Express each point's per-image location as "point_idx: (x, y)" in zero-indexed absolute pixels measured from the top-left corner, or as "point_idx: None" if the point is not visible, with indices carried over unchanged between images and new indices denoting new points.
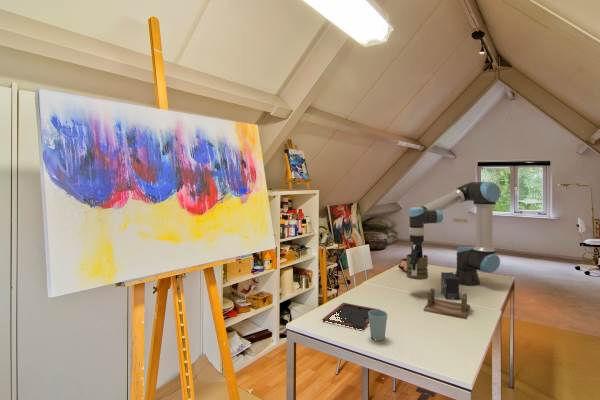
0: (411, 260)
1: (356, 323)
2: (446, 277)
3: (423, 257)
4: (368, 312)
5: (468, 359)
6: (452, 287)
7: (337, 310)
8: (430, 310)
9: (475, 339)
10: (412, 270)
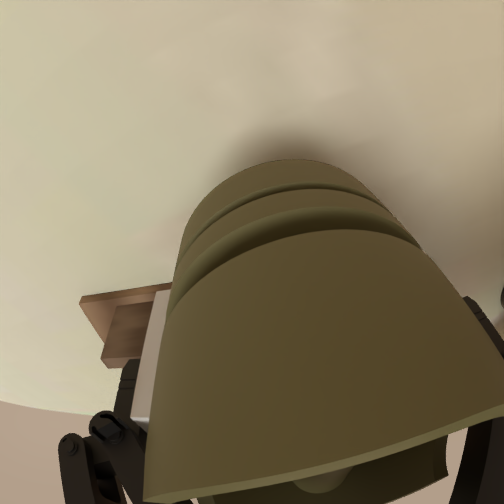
0: (68, 477)
1: None
2: None
3: (433, 446)
4: None
5: (4, 396)
6: None
7: None
8: (92, 323)
9: (63, 404)
10: (149, 343)
